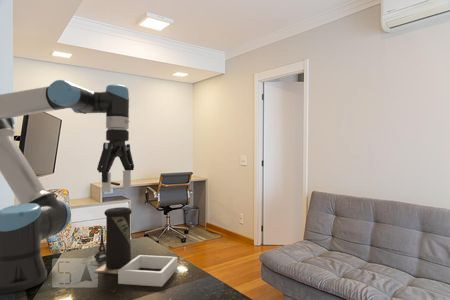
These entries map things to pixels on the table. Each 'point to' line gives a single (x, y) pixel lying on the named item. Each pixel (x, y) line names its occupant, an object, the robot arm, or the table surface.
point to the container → (118, 237)
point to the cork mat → (106, 270)
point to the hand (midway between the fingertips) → (117, 190)
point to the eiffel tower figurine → (97, 255)
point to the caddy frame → (148, 278)
